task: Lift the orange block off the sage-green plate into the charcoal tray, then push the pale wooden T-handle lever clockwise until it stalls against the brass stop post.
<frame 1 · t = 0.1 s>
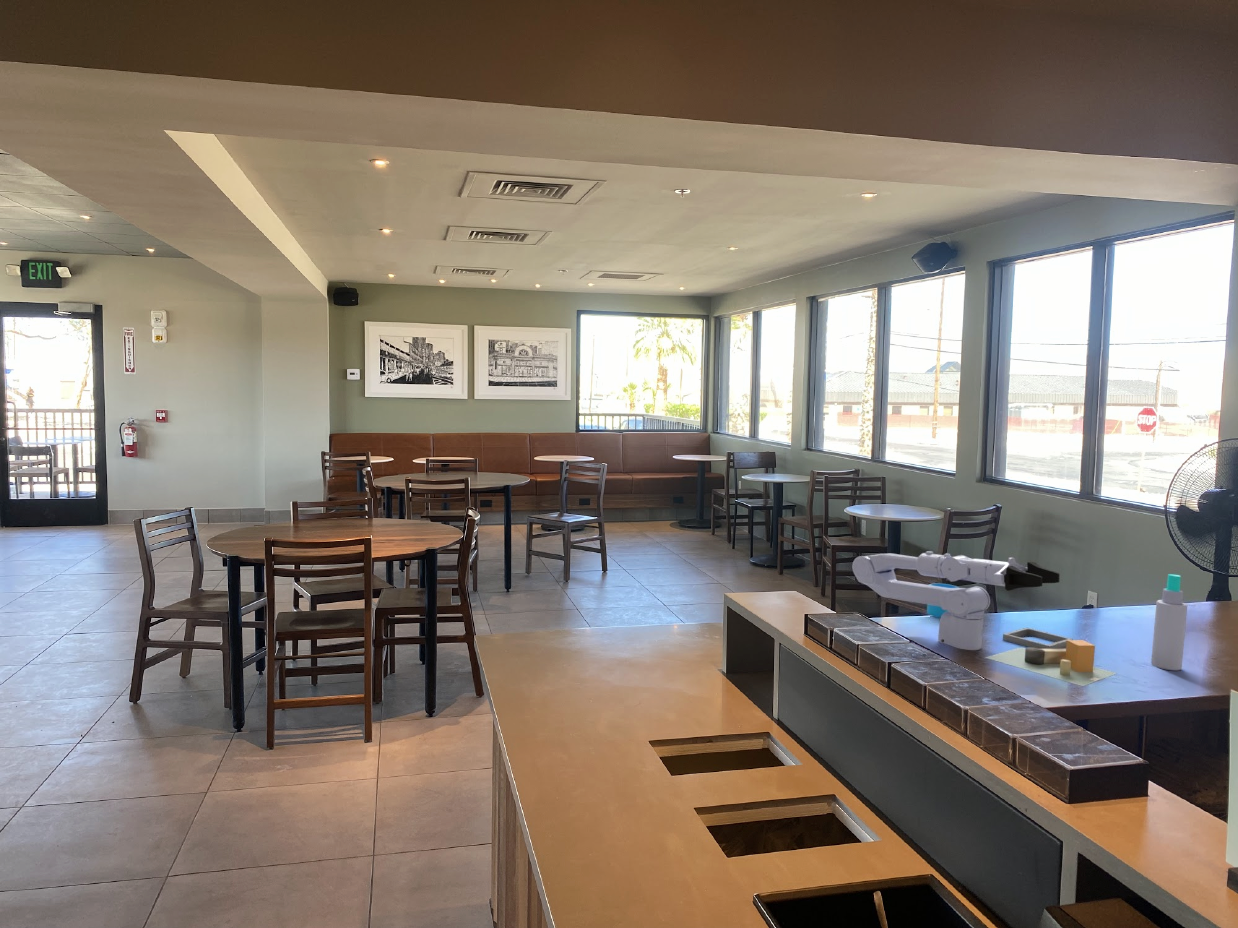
hand: (1050, 579, 184), 22 cm above the table, tool horizontal, fingers open, 7 cm apart
mug: (948, 616, 235), on the table
base plate: (1049, 671, 188), on the table
orange block: (1078, 668, 186), point 1 cm above the table, touching base plate
spray bottle: (1166, 667, 194), on the table
tray: (1036, 648, 206), on the table
lever: (1055, 655, 190), point 3 cm above the table, hinge at 60.0°
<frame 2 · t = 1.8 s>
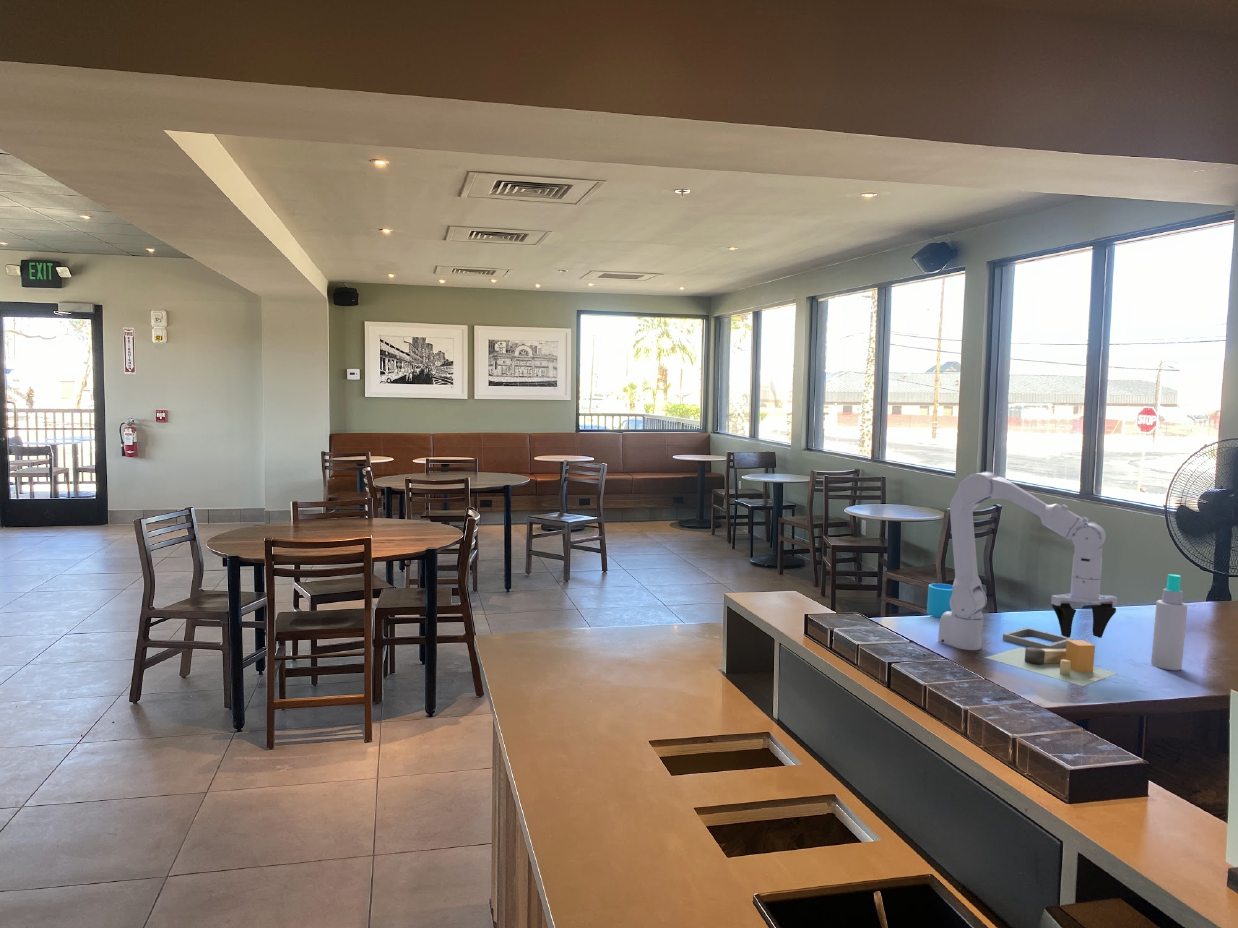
hand: (1081, 636, 185), 9 cm above the table, tool pointing down, fingers open, 7 cm apart
nothing on the table moved.
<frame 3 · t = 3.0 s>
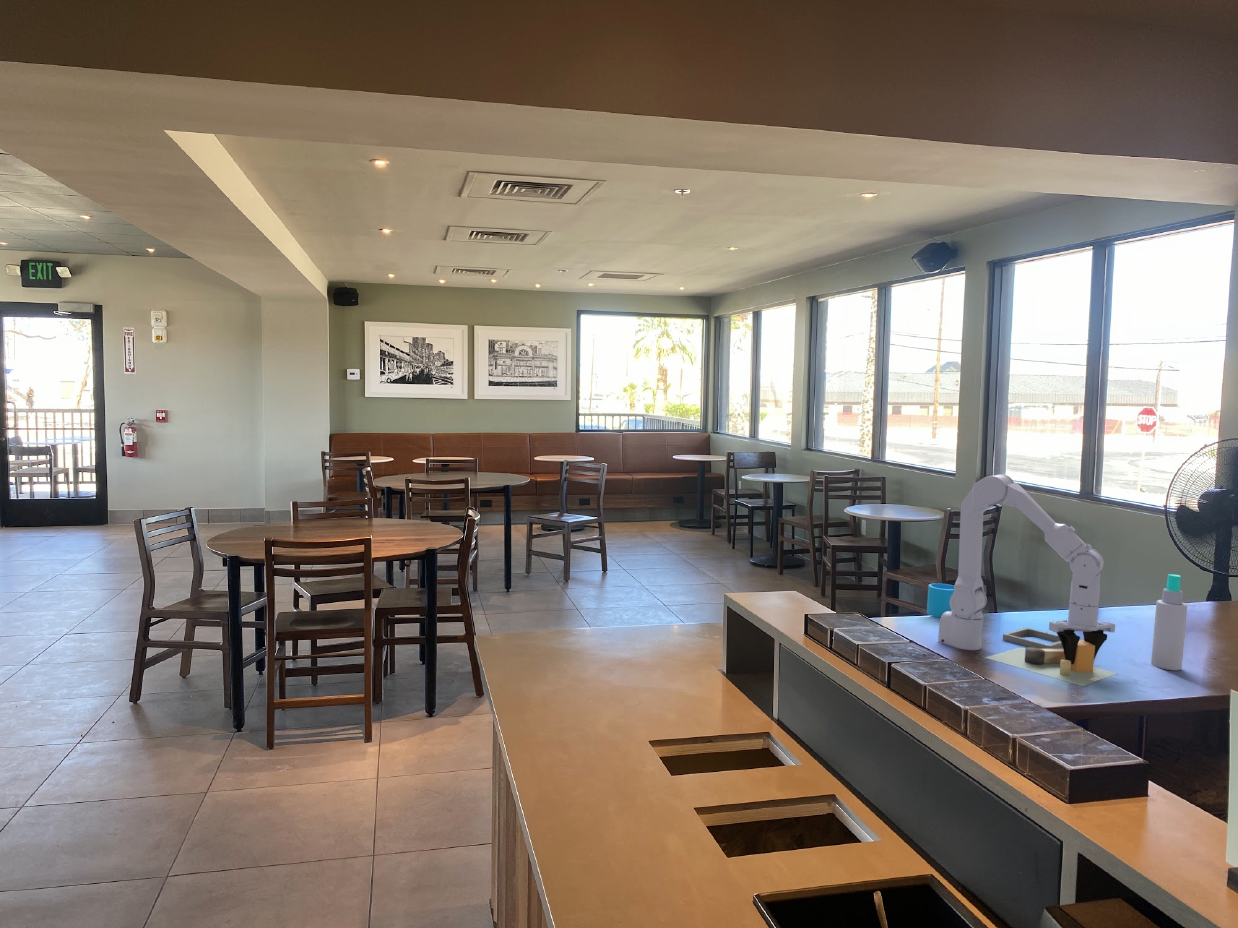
hand: (1079, 662, 186), 3 cm above the table, tool pointing down, fingers closed on orange block, 4 cm apart
orange block: (1078, 668, 186), point 1 cm above the table, touching base plate, gripper
everything else where it was.
when the fingers open (4 cm above the table, at t = 7.1 s): orange block drops 2 cm, resting on tray.
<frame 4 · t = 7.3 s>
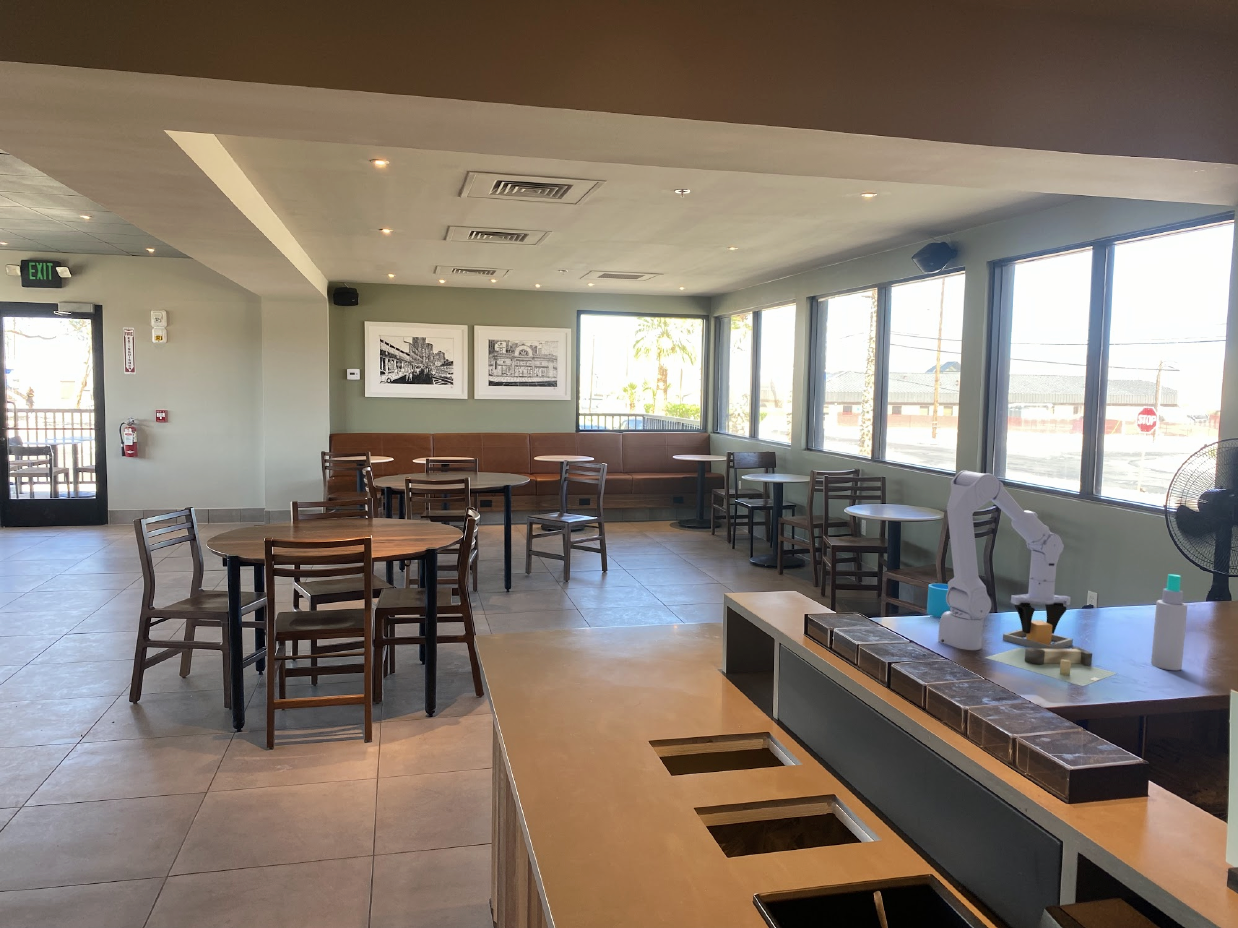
hand: (1038, 632, 206), 4 cm above the table, tool pointing down, fingers open, 6 cm apart
orange block: (1038, 646, 205), point 1 cm above the table, touching tray
everything else where it was.
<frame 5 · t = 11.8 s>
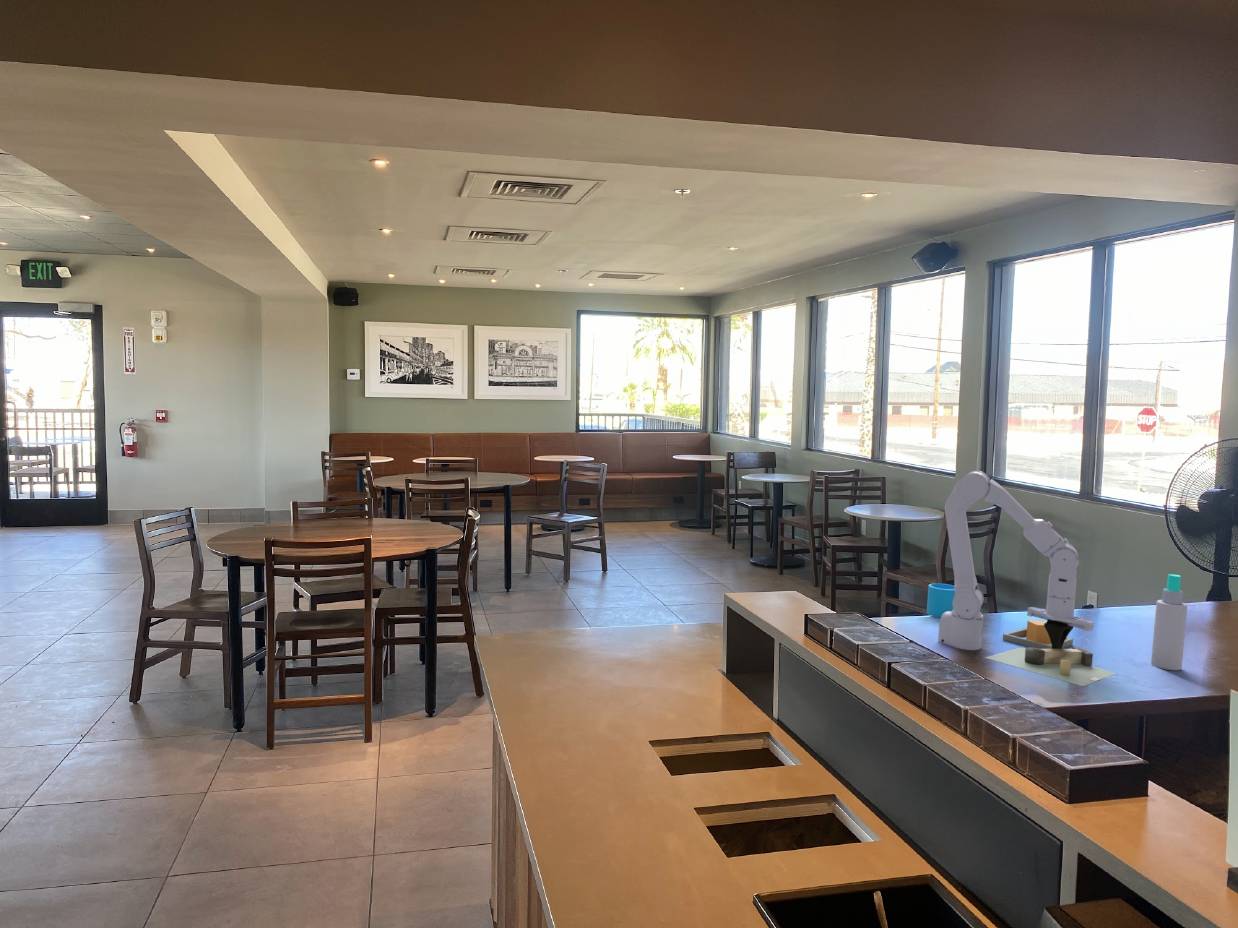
hand: (1056, 653, 192), 3 cm above the table, tool pointing down, fingers closed, pressing on lever
lever: (1055, 656, 190), point 3 cm above the table, hinge at 58.9°, touching gripper
everything else where it was.
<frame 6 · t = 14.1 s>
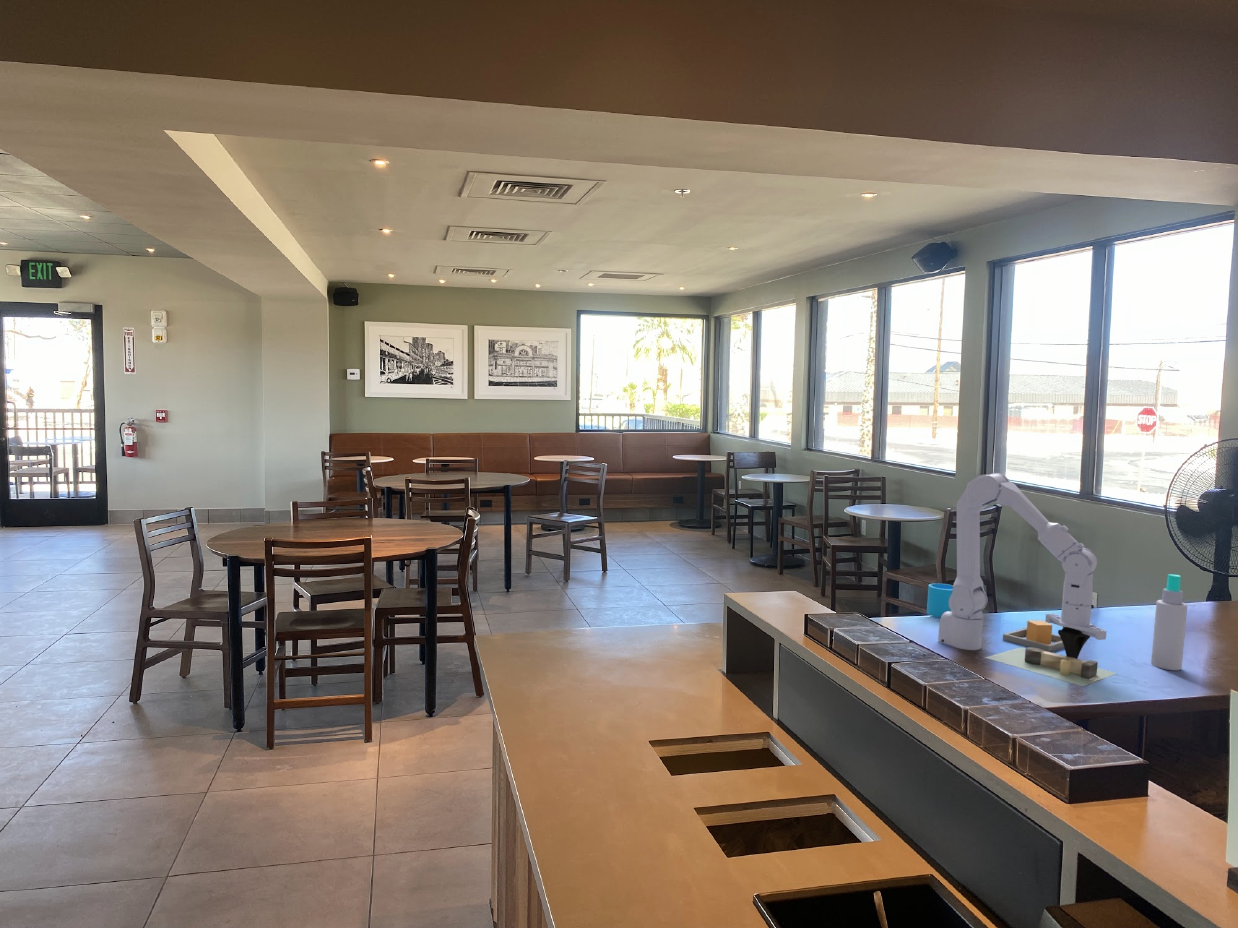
hand: (1071, 661, 186), 3 cm above the table, tool pointing down, fingers closed, pressing on lever
lever: (1058, 661, 185), point 3 cm above the table, hinge at 6.4°, touching gripper
everything else where it was.
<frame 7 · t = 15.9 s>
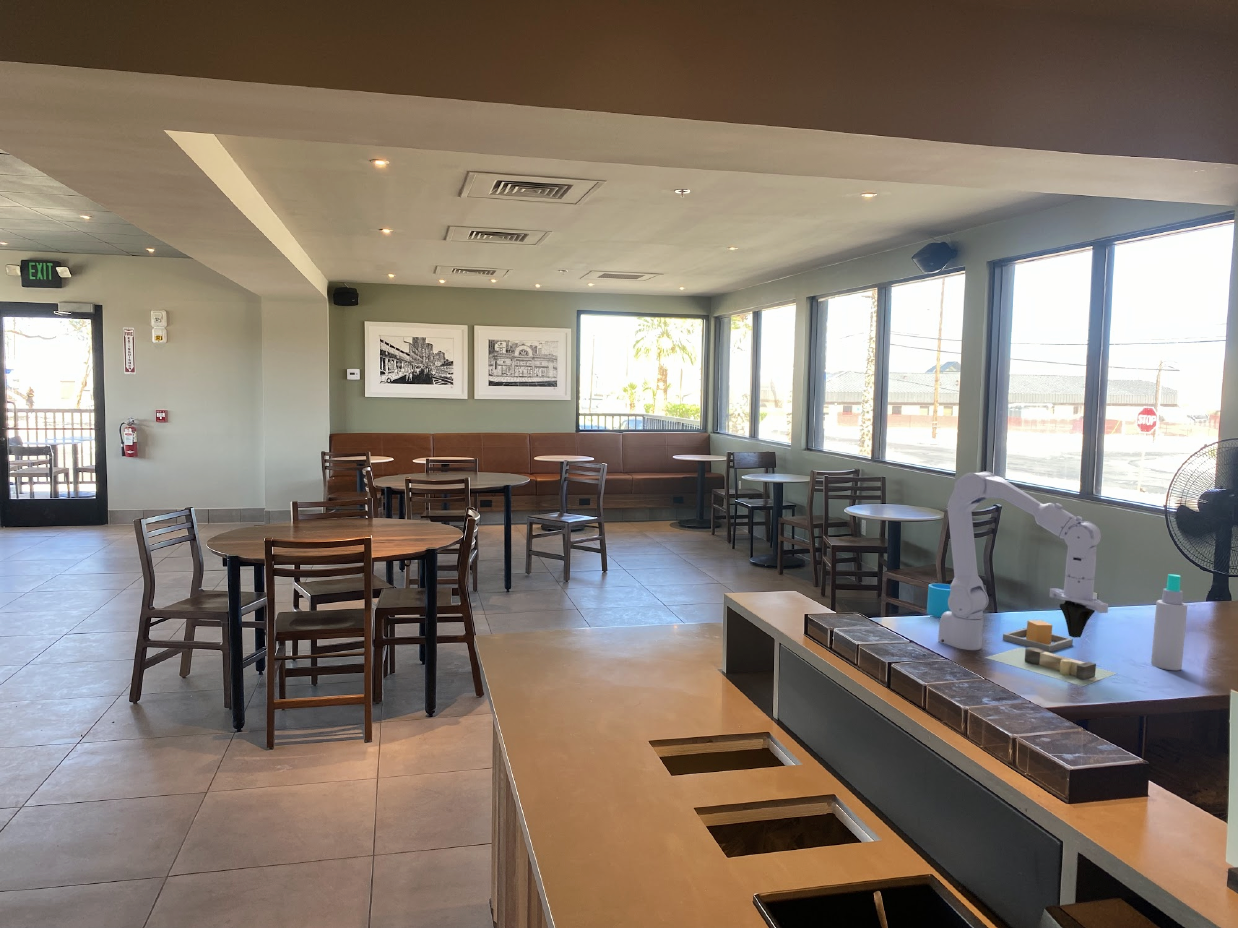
hand: (1074, 636, 183), 9 cm above the table, tool pointing down, fingers closed
lever: (1057, 662, 185), point 3 cm above the table, hinge at -1.6°
everything else where it was.
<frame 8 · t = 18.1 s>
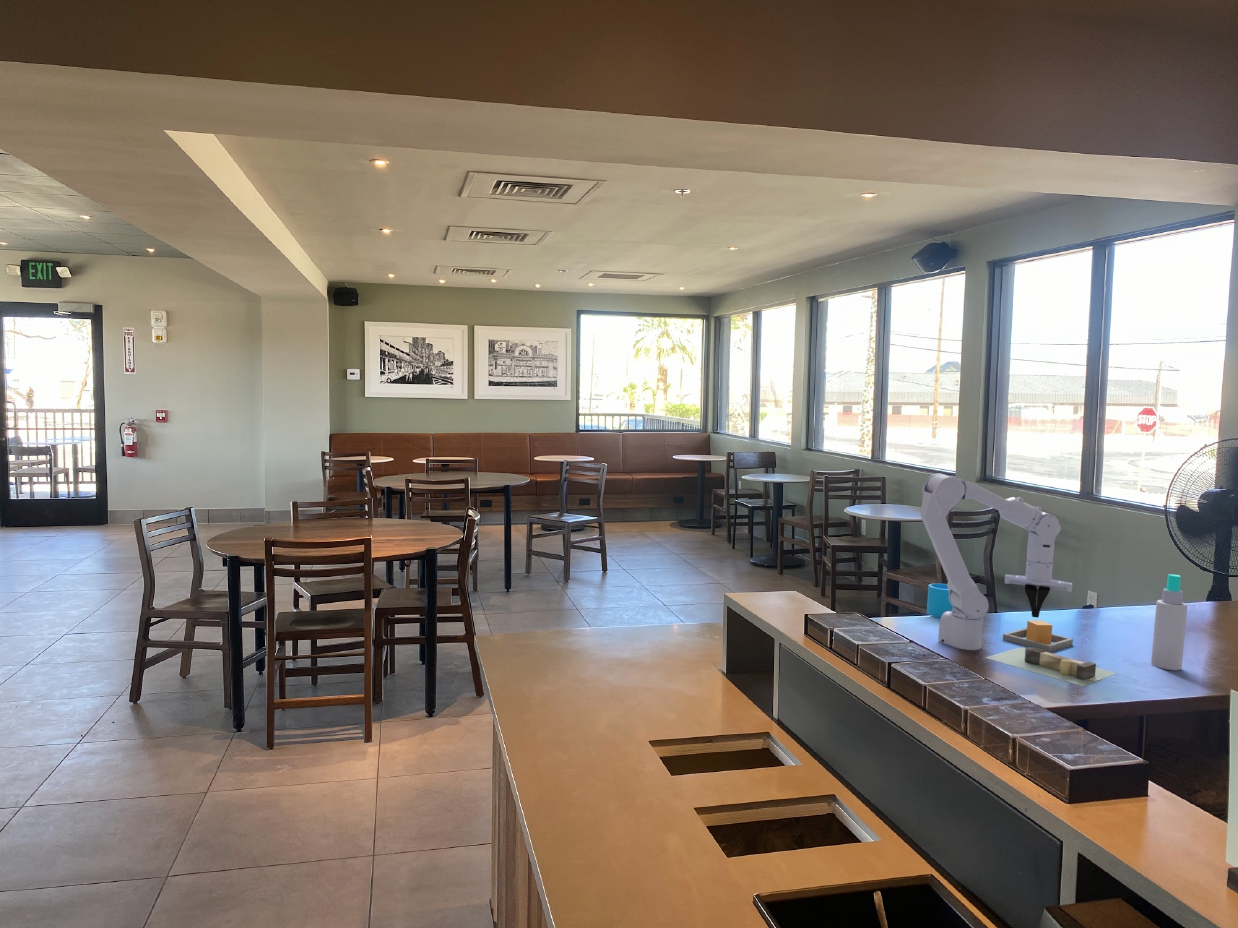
hand: (1035, 616, 200), 9 cm above the table, tool pointing down, fingers closed
nothing on the table moved.
at the end: lever at -2° (first picture: +60°); orange block inside the target area on the tray (0.4 cm from its centre), point 0.6 cm above the tray's base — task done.
